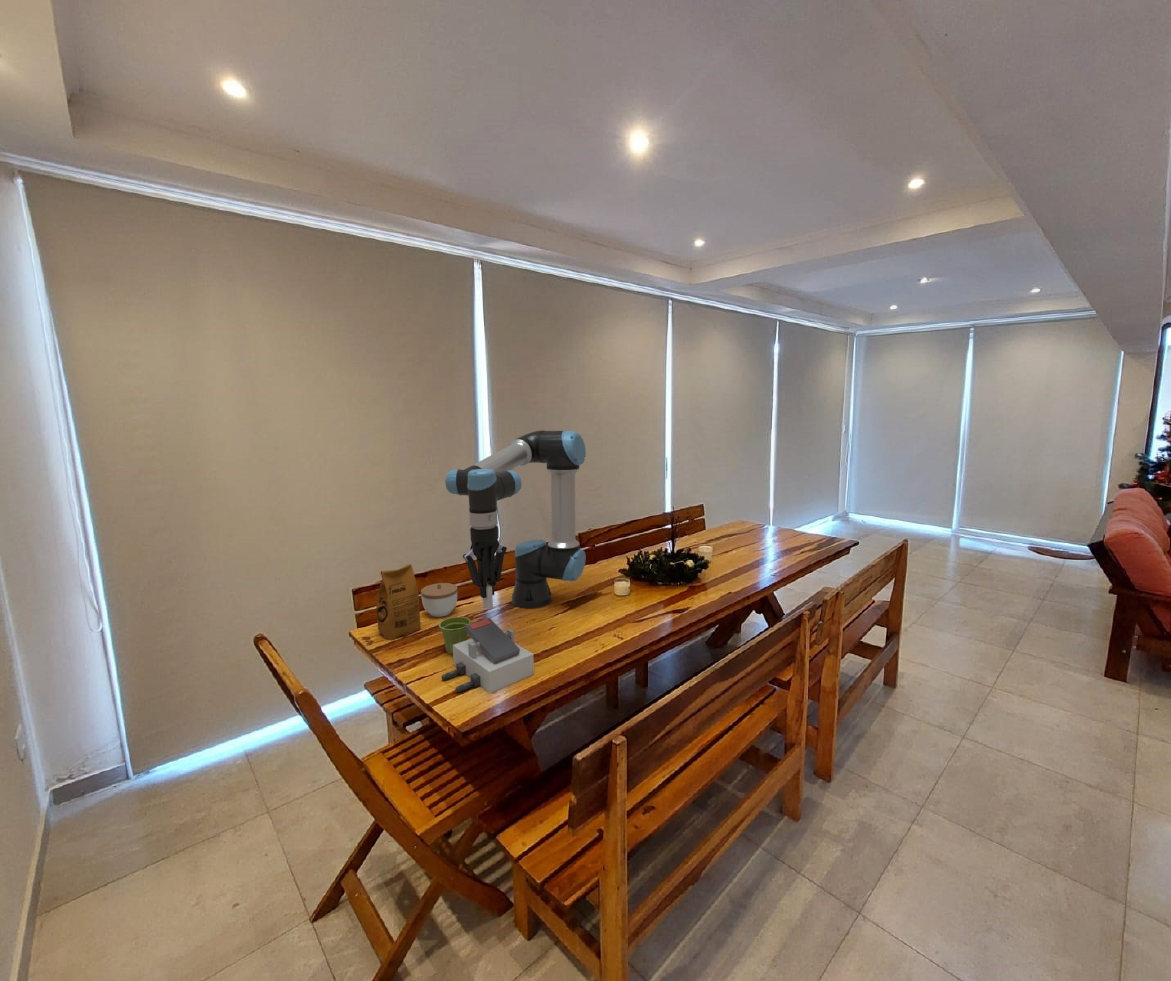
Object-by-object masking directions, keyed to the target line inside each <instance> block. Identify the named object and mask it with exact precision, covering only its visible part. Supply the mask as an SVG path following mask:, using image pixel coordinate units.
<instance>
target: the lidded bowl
mask: <svg viewBox="0 0 1171 981" xmlns="http://www.w3.org/2000/svg"><path fill="white" fill-rule="evenodd" d="M420 595H421V602H422V606H423V608H424V610H425V611H426V612H427V613H428V614H429V615H430V616H431V617H434V618H442V617H446V616H448V615H450V614H451V613H452V611H453V610H454V609H455V607H456V606H457V601H458V586H457V585H456V584H454V583H449V582H440V583H432V584H429V585H426V586H424V587H422V588H421V590H420Z"/></svg>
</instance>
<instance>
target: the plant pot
mask: <svg viewBox="0 0 1171 981" xmlns="http://www.w3.org/2000/svg"><path fill="white" fill-rule="evenodd" d="M471 622H472V621H471V619H470V618H469V617H466V616H453V617H451V616H450V617H448V618H445V619H443V620H441V621H440V622H439V623H438V627H439V629H440V631H441V632H442V633H441V634H442V638H443V642H444V646H445V651H446V652H447V653H449V654H453V645H454V644H457V643H460V642H463V641H466V640H468V636H469V635H468V633H467V632H466V631H465V626H466V625H469V624H472V623H471Z"/></svg>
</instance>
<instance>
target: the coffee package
mask: <svg viewBox="0 0 1171 981" xmlns="http://www.w3.org/2000/svg"><path fill="white" fill-rule="evenodd" d="M380 576H381V577H380V578H381V580H380V584H379V585H380V586H379V589H378V590H377V596H376V618H377V630H378V632H379V635H382V636H383V637H384V638H385V639H387V640H391V641H393V640H395V639H397V638H399V637H401V636H408V635H411V634H412V633H415V632H416V631H419V630H420V629H421V612H420V610H421V609H420V608H421V607H420V598H419V595H420V594H419V588H418V583H417V580H416V579H417V578H416V576H415V572H414V569H413V565H412V564H411V563H408V564H406V565H404V566H402V567H400V568H399V569H392V570H381V571H380Z"/></svg>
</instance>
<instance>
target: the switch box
mask: <svg viewBox="0 0 1171 981" xmlns="http://www.w3.org/2000/svg"><path fill="white" fill-rule="evenodd" d="M506 632H508V633H509V636H508V637H509V638H510V639H511V640H512V641H513V642H514V644H515V645H516V646H517V647H518V648H519V649H520V652H519V654H517V655H515V656H512V657H510V658H507V659H505V660H502V661H500V662H497V663H495V664H494V663H493V662H492V661H491V659H490V658H489V657H488V656H487V655H486V654H485V653H484V652H483V650H482V649H481V648H480V647H476V645H475V644H474V643H476V642H475V641H474V640H473V639H472V638H469V639H467V640H466V641H463V642H460V643H457V644H454V645H453V653H452V657H453V658H452V660H453V665H454V666H455V668H456V669H454V670H451V671H449V672H446V673H443V674H442V675H441V679H442V680H443V681H446V680H449V679H452V678H455V677H457V676H463V675H466V676H467V677H469V678H470V680H469V681H467V682H465V683H462V684H460V685H457V686H456V687H455V692H456V693H462V692H463V691H466V690H468V689H471V688H476V687H479V686H480V687H482V688H483V690H485V691H487V692H488V693H489V694H492V693H494V692H497V691H499V690H501V689H503V688H506V687H508V686H510V685H512V684H515V683H517V682H519V681H522V680H524V679H526V678H528V677H532V676H533V675H534V674H535V673H534V672H535V670H534V668H535V667H534V666H535V665H534V664H535V662H534V653H532V652H530V651H529V650H527V649H525V648H524V647H522V646H520V645H519V644H518V643H516V642H515V631H514V630H513V629H511V628H507V629H506Z"/></svg>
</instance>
